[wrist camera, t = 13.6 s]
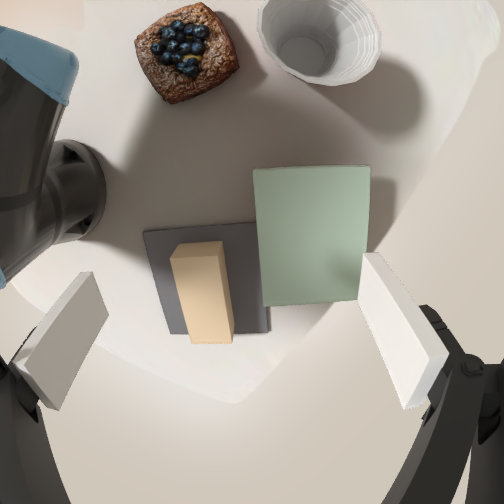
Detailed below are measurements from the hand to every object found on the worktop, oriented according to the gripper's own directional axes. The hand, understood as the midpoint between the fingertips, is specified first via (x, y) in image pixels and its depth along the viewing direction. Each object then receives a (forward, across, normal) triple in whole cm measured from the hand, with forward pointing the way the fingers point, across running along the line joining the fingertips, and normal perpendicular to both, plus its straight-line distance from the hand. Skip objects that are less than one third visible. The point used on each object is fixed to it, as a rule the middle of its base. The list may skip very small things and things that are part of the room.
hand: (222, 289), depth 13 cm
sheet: (+18, +8, -6) cm, 21 cm away
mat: (+24, -6, -15) cm, 29 cm away
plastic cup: (+25, +9, +15) cm, 30 cm away
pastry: (+26, -5, +16) cm, 31 cm away
